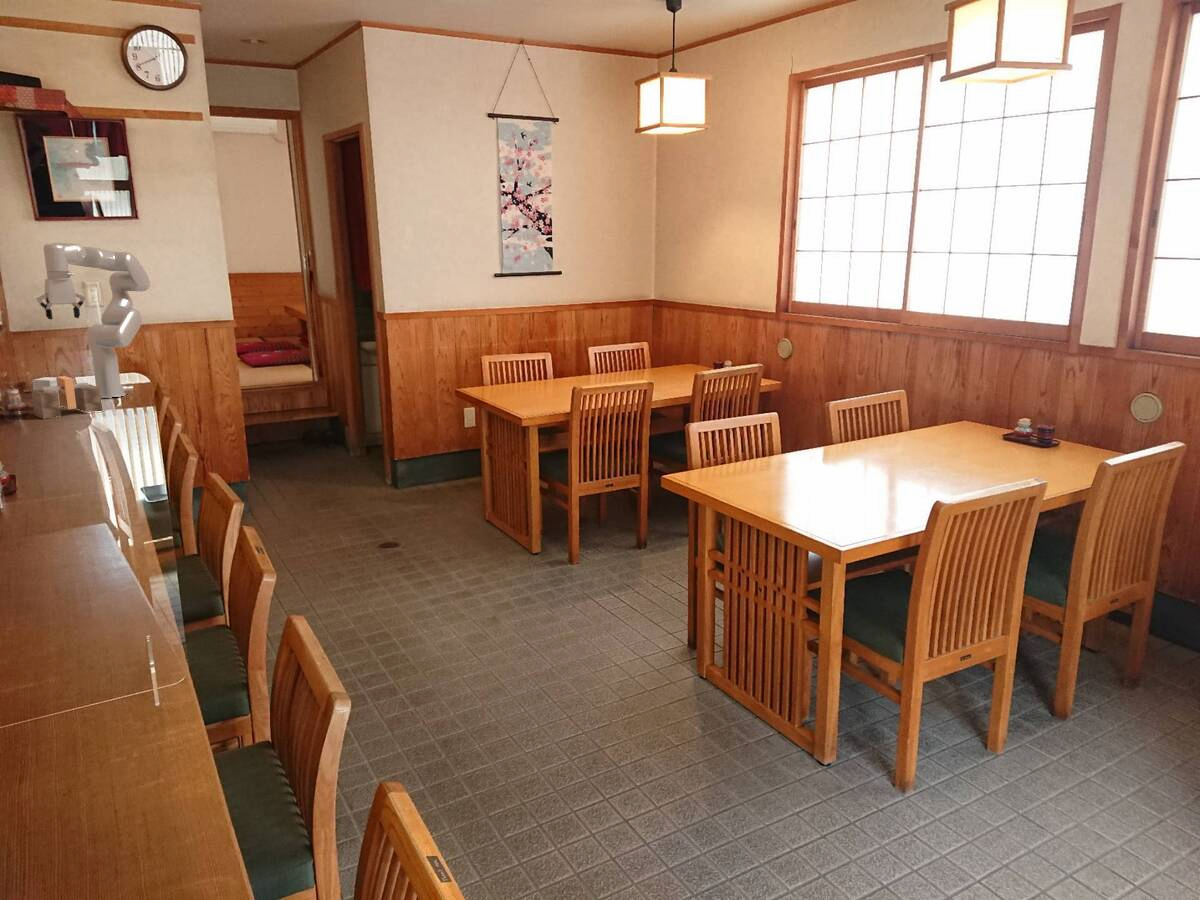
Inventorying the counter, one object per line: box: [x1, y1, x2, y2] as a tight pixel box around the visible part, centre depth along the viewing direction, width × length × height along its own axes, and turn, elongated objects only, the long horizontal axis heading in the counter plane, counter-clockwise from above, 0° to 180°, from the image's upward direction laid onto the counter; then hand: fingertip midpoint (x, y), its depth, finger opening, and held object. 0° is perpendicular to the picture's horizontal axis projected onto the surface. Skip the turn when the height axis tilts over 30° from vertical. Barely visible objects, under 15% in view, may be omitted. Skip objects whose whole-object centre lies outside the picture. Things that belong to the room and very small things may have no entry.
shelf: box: [30, 383, 103, 420], centre depth 333 cm, size 21×10×10 cm, turn 140°
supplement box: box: [32, 376, 61, 407], centre depth 340 cm, size 7×7×13 cm
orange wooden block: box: [55, 375, 76, 410], centre depth 332 cm, size 3×8×12 cm, turn 51°
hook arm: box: [42, 382, 90, 392], centre depth 332 cm, size 16×2×2 cm, turn 140°
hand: (63, 318), depth 339 cm, fingers open, 9 cm apart
